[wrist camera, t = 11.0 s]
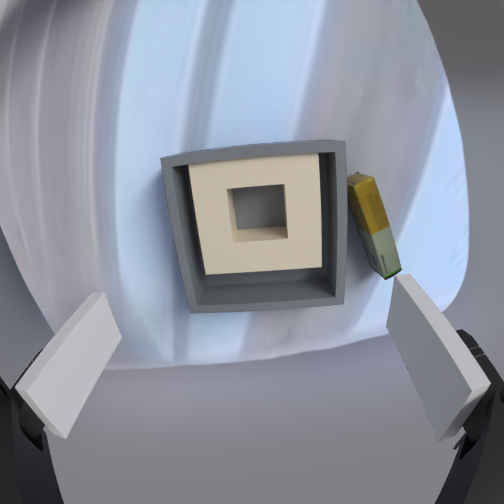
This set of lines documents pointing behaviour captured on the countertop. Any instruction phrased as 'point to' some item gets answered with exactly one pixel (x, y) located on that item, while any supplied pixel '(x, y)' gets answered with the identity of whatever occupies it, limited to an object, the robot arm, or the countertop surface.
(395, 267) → the medication box
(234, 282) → the box
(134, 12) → the countertop surface
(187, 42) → the countertop surface
